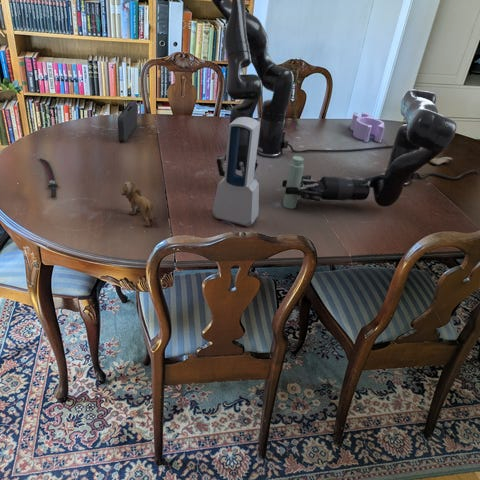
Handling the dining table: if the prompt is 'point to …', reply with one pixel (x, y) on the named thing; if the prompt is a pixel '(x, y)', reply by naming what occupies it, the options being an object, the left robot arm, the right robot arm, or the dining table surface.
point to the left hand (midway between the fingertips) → (234, 187)
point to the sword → (52, 181)
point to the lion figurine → (137, 201)
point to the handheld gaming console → (127, 121)
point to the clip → (367, 127)
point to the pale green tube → (293, 181)
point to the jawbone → (440, 160)
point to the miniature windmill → (295, 93)
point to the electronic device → (239, 178)
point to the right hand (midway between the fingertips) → (284, 187)
